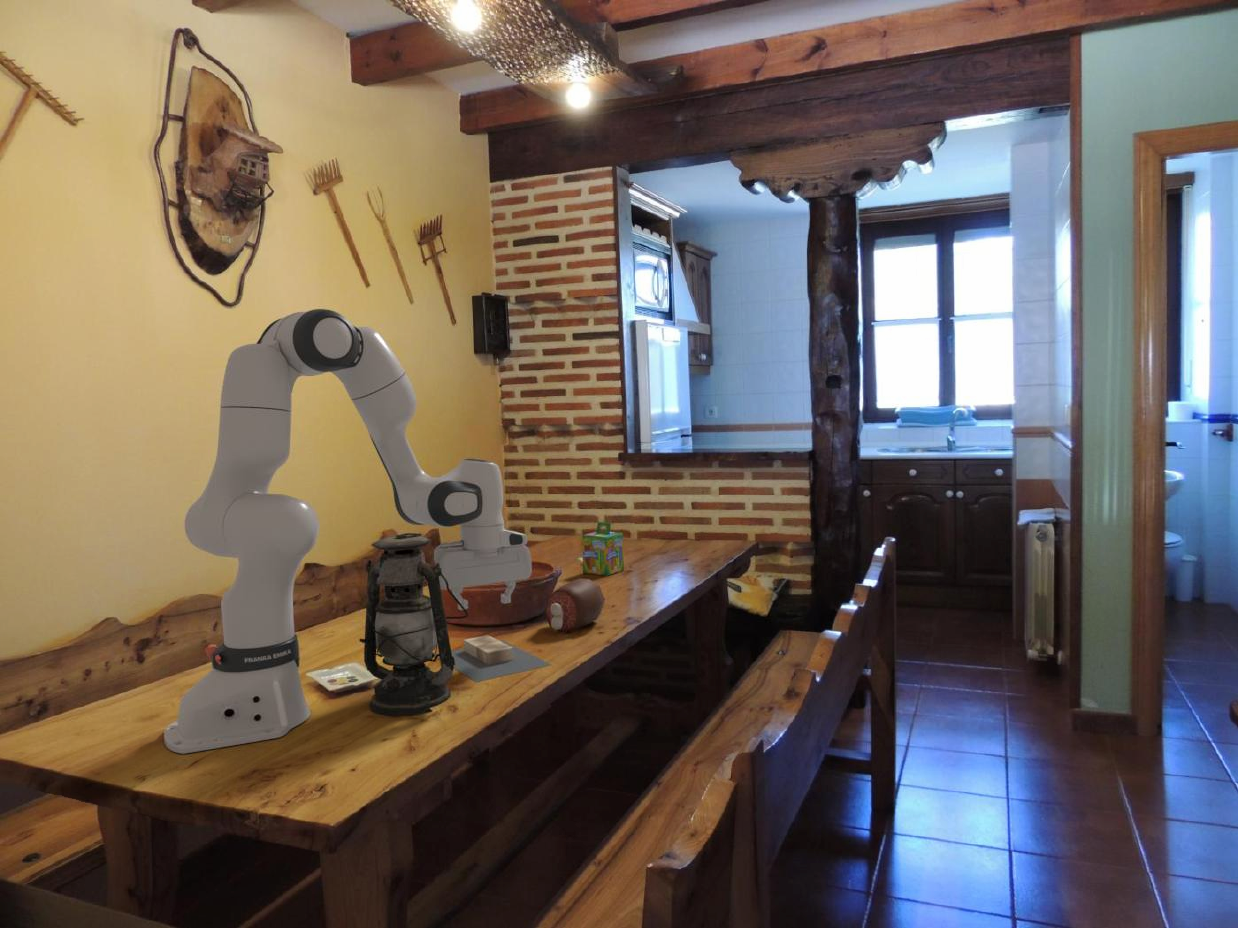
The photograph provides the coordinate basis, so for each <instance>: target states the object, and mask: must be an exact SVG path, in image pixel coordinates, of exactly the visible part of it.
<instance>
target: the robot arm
mask: <svg viewBox="0 0 1238 928" xmlns="http://www.w3.org/2000/svg"><path fill="white" fill-rule="evenodd" d="M325 373H331V374H333V375H334V376H335V377H337V378H338V380H339V381H340V382H341V383H342V384H343V386H344V388H345V391H346V392H347V394H348V397H349V398H350V400H351V403H352V404H353V405H354V407H355V408H356V410H357V412H358V414H359V416H360V418H361V419H362V421H363V423H364V425H365V428H366V430H367V432H368V435H369V437H370V440H371V442H372V445H373V446H374V448H375V451H376V453H377V455H378V457H379V459H380V461H381V463H382V465H383V467H384V469H385V471H386V474H387V476H388V478H389V480H390V483H391V487H392V490H393V500H394V505H395V506H394V507H395V509H396V512H397V513H398V515H399V516H400V517H401V518H402V520H403V521H405V522H406V523H408V524H411V525H414V526H431V527H440V528H452V527H455V526H458V525H459V526H460V527H459V528H460V530H459V532H460V534H459V535H460V540H456V541H450V542H449V541H447V542H441V543H440V545H437V546H436V547H435V548H434V551H433V560H434V561H433V562H434V563H435V564H434V566H435V565H436V563H439V565H440V568H441V571H442V574H443V576H444V577H445V578H446V580H447V582H448V585H449V589H450V590H451V592H452V593H453V594H454V596H455V597H456V598H457V599H458V601H459V602H460V603H461V605H462V606H463V607H464V608H465V610H468V609H469V601H468V600H467V599H465V598H463V597H462V595H461V594H463V589H464V588H471V587H476V586H477V587H478V586H486V585H493V584H498V583H501V584H502V583H504V584H505V586H506V589H505V591H504V593H501V594H500V602H501V604H510V603H511V602H512V594H513V592H514V590H515V588H516V586H517V585H516V584H517V583H516V581H519V580H520V581H523V580H528V579H530V576H531V575H532V573H533V572H532V571H533V570H532V569H533V567H532V558H531V557H532V556H531V552H530V549H529V547H528V546H527V544H528V536H527V535H526V534H525V533H521V532H517V531H514V530H513V529H509V528H505V520H504V517H503V505H504V485H503V478H502V473H501V470H500V467H499V465H498V464H497V463H496V462H495V461H491V460H487V459H476V458H465V459H462V460H461V461H460V463H459V464H458V465H457V466H456V467H454V468H453V469H452V470H450V471H448V472H447V473H445V474H443V475H440V476H439V477H434V476H433V477H432V476H431V475H429V474H427V473H426V472H425V471H424V470H423V469H422V468H421V467H420V464H419V463H418V461H417V458H416V455H415V453H414V451H413V449H412V447H411V445H410V443H409V440H408V438H407V434H406V428H407V425H408V424H409V423H410V422H411V420H412V419H413V417H414V416H415V413H416V411H417V406H418V400H417V395H416V392H415V390H414V387H413V384H412V382H411V380H410V378H409V376H408V375H407V373H406V371H405V369H404V367H403V366H402V364H401V362H400V360H399V359H398V357H397V355H396V354H395V352H394V351H393V350H392V348H391V347H390V345H389V344H388V343H387V342H386V340H385V339H384V337H383V336H382V335H381V334H380V332H378V331H377V330H376V329H374V328H371V327H368V326H358V327H357V326H355V325H354V324H352V322H351V321H350V320H349V319H348V318H346V317H345V316H344V315H342V314H340V313H339V312H337V311H334V310H331V309H326V308H316V309H315V308H314V309H310V310H308V311H297V312H294V313H291V314H289V315H288V314H287V315H286V316H284V317H282V318H279V319H277V320H275V321H273V322H271V323H270V324H269V325H268V326H267V327H266V328H265V330H263V332H262V333H261V335H260V338H259V339H258V341H256V342H255V343H248V344H243V345H242V346H239V347H237V348H235V349H234V350H233V351H232V352H231V353H230V355H229V356H228V360H227V363H226V366H225V370H224V375H223V380H222V387H221V392H220V393H221V394H220V408H219V409H220V410H219V427H218V428H219V429H218V438H217V439H218V440H217V441H218V443H217V453H216V457H215V462H214V465H213V469H212V471H211V475H210V476H209V480H208V481H207V484H206V486H205V489H204V491H203V492H202V493H201V494H200V496H199V498H197V500H196V501H195V502H193V503H192V505H191V506H190V507H189V509H188V510H187V512H186V515H185V519H184V531H185V535H186V537H187V540H189V543H191V544H192V546H194V547H195V548H197V549H199V550H201V551H202V552H203V551H204V552H205V553H208V554H210V555H214V556H217V557H220V558H221V557H222V558H232V559H233V558H234V559H235V558H236V559H237V560H238V564H237V565H238V567H237V573H236V577H235V580H234V582H233V585H232V586H231V587H229V588H228V589H227V590H226V591H225V592H224V594H223V595H222V597H221V601H220V609H221V618H222V619H221V620H222V621H221V622H222V630H223V631H222V633H223V643H222V644H220V645H219V646H217V645H216V644H212V643H210V644H208V645H206V648H205V650H204V652H205V655H206V656H207V657H208V659H211V665H212V669H211V670H210V671H209V672H208V673H206V674H204V676H203V677H202V678H201V679H200V680H198V681H197V682H196V683H195V684H194V685H193V686H192V687H190V688H189V689H188V690H187V691H186V692H185V693H184V694H183V695H182V698H181V700H180V702H179V707H178V715H177V721H173V722H172V723H171V724H169V725H168V726H167V727H166V728H165V729H164V732H163V741H164V744H165V746H166V748H167V749H168V750H170V751H172V752H175V753H177V754H189V753H197V752H202V751H209V750H213V749H220V748H226V747H232V746H236V745H237V746H238V745H242V744H243V745H244V744H248V743H255V742H261V741H266V740H271V739H278V738H281V737H283V736H285V735H286V734H288V732H289V731H290V730H291V729H293V728H295V727H297V726H299V725H301V724H302V723H304V722H305V721H307V720H308V719H309V717H311V711H310V710H311V709H310V708H309V706H308V702H307V701H306V697H305V695H304V691H303V687H302V682H301V676H300V671H299V668H300V661H301V659H300V658H301V657H300V656H301V655H300V643H299V640H298V635H297V634H296V633H295V622H294V587H295V586H294V585H295V580H296V577H297V573H298V570H299V566H300V564H301V563H302V562H303V559H304V558H305V556H306V555H307V554H308V553H310V552H311V550H313V548H314V547H315V545H316V542H317V541H318V537H319V534H320V520H319V517H318V513H317V511H316V510H315V508H314V507H313V506H312V505H311V504H310V503H308V502H307V501H304V500H302V499H299V498H296V497H293V496H290V495H287V494H281V493H280V494H279V493H268V491H269V489H270V484H271V482H272V479H273V477H274V475H275V474H276V473H277V471H278V469H280V467H282V466H284V464H285V463H286V462H287V461H288V459H289V456H290V453H291V452H290V451H291V429H292V393H293V389H294V386H295V383H296V381H297V380H298V379H299V377H302V376H304V377H314V376H319V375H323V374H325ZM437 572H438V571H437ZM439 580H440V586H441V591H448V590H447V587H446V583H445V581H444V579H443V578H442V576H441V575H440V576H439ZM457 609H458V610H460V611H464V610H463V609H462V608H461V607H460V605H459V604H458V603H457Z"/></svg>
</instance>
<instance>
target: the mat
mask: <svg viewBox="0 0 1238 928" xmlns="http://www.w3.org/2000/svg"><path fill="white" fill-rule="evenodd" d="M500 641H501V642H503V643H505V644H507V645H509V646H511V647H513V660H508V661H504V662H499V663H495V664H490V665H488V664H486V663H484V662H483V661H481V660H479V659H477V658H476V657H474V656H472V655H470V654H469V653H467V652H465V651H464V647H463V648H459V649H455V650H451V653H452V656H454V660H455V665H454V669H453V670H456V671H457V672H459V673H460V674H462V675H464V676H465V677H467V678H468V679H470V680H471V681H473V682H475V683H479V682H484V681H488V680H493V679H496V678H501V677H506V676H510V675H515V674H519V673H523V672H527V671H531V670H536V669H540V668H545V667H548V666H549V667H550V666H552V664H551V663H549V662H547V661H545V660H543V659H541V658H539V657H538V656H535V655H533V654H531V653H529V652H527V651H525V650H523V649H521V648H519V647H517V646H515V645H513V644H512V643H509V642H507V641H505V640H502V639H501V640H500ZM434 654H435V653H434ZM437 654H438V653H436V654H435V656H436V655H437ZM438 659H439V660H440V656H438V657H437V660H438Z"/></svg>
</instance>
